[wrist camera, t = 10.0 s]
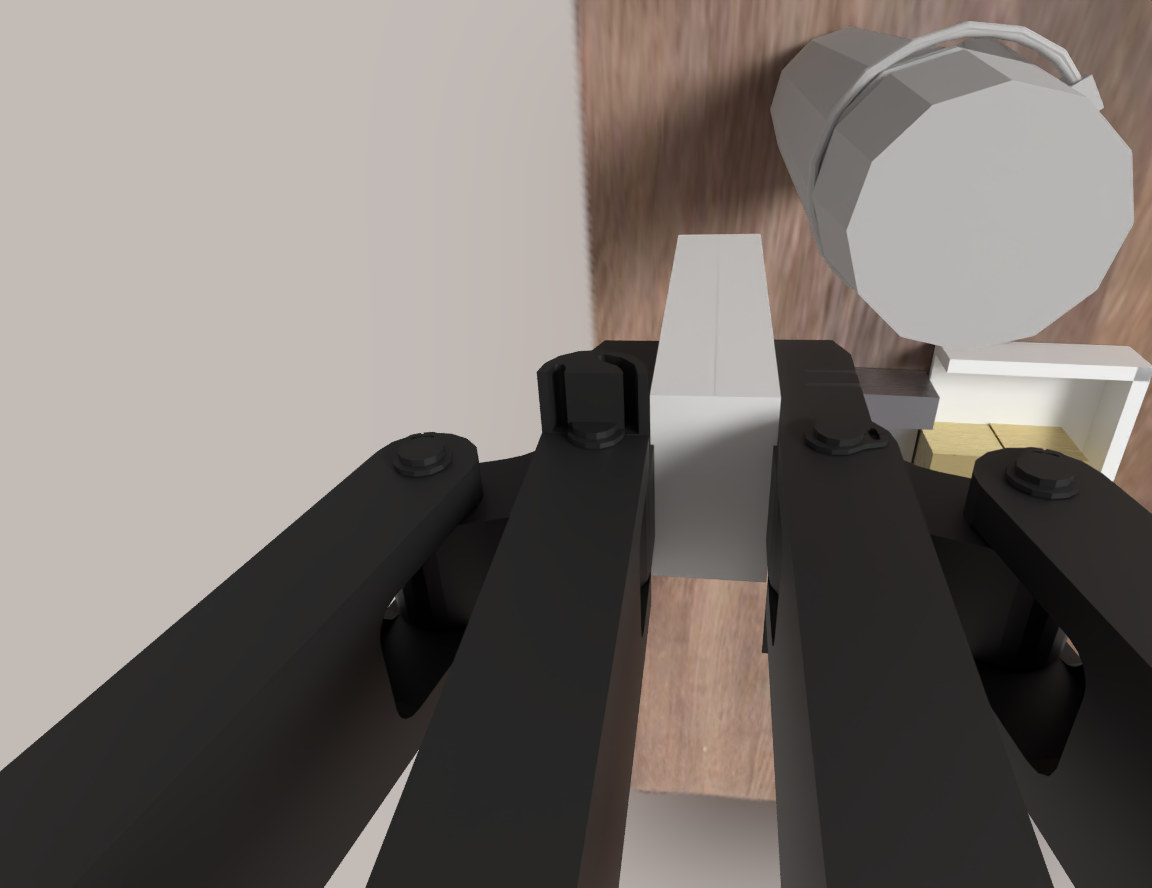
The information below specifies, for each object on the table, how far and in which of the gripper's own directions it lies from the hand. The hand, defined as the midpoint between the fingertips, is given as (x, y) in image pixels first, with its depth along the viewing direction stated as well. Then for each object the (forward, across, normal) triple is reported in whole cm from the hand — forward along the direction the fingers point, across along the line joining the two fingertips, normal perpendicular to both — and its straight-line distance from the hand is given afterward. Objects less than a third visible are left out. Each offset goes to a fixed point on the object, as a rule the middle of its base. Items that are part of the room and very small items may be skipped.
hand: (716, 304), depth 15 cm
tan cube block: (+30, +14, -21) cm, 39 cm away
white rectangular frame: (+30, +17, -21) cm, 41 cm away
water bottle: (+31, +7, 0) cm, 32 cm away
